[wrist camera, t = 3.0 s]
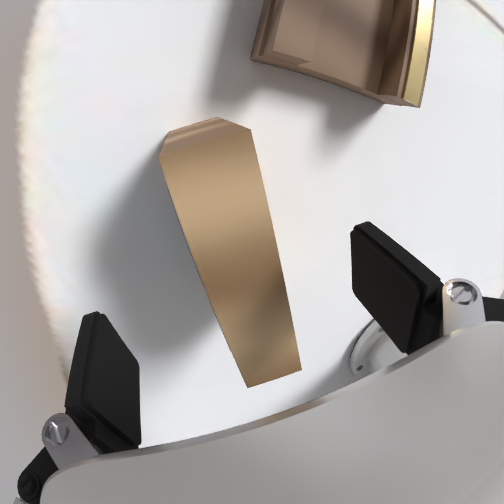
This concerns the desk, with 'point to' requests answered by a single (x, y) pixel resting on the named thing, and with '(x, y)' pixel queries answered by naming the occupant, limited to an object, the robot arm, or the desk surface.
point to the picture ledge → (352, 44)
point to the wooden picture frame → (233, 243)
